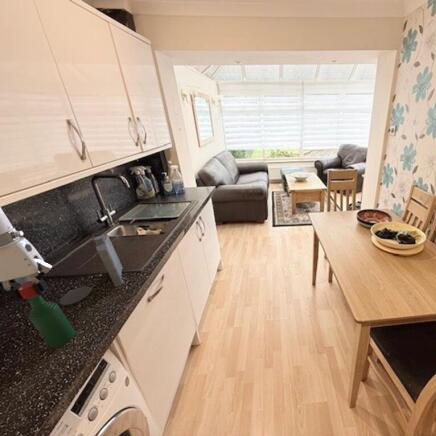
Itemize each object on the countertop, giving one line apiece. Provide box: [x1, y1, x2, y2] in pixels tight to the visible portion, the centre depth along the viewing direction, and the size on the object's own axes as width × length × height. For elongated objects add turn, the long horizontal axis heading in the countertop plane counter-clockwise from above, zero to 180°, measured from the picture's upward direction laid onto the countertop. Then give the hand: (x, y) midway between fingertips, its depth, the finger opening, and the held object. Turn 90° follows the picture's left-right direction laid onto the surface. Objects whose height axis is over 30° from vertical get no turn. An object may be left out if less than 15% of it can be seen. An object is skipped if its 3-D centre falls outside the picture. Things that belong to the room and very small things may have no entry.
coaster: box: [59, 286, 93, 307], centre depth 94 cm, size 10×10×1 cm
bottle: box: [27, 294, 77, 349], centre depth 72 cm, size 6×6×18 cm
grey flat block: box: [92, 233, 125, 288], centre depth 100 cm, size 16×4×20 cm, turn 35°
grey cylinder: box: [15, 276, 31, 285], centre depth 98 cm, size 4×4×10 cm
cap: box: [17, 281, 38, 300], centre depth 68 cm, size 4×4×3 cm
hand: (32, 294), depth 68 cm, fingers closed on cap, 3 cm apart
